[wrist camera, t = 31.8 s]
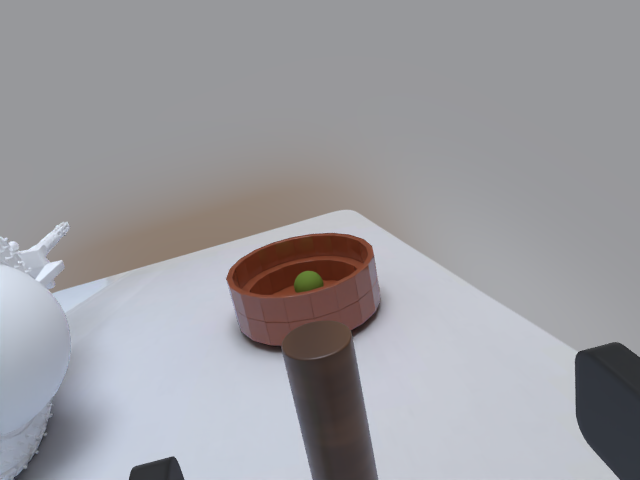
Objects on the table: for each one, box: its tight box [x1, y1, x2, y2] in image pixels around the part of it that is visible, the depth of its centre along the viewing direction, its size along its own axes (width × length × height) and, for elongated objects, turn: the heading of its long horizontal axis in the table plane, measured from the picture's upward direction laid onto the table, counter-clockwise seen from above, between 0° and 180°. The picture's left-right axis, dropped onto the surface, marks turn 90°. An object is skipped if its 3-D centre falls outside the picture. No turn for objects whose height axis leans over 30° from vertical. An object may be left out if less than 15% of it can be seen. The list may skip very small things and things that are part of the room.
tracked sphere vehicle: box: [0, 222, 71, 480], centre depth 49 cm, size 35×14×20 cm, turn 6°
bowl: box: [226, 233, 381, 346], centre depth 58 cm, size 15×15×6 cm
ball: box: [294, 271, 324, 293], centre depth 59 cm, size 3×3×3 cm
